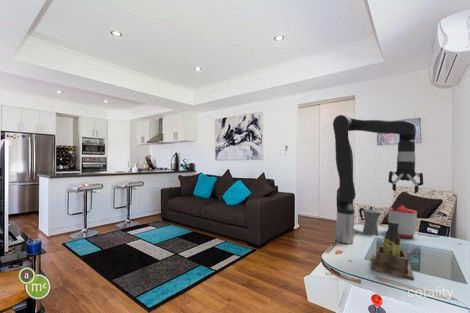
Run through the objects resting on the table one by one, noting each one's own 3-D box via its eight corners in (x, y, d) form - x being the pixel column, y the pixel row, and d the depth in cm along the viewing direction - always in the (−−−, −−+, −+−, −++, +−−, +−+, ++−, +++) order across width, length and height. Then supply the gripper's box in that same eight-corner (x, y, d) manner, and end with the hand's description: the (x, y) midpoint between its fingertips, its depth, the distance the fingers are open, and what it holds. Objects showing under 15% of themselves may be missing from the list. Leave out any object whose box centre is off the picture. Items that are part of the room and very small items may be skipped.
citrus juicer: (404, 231, 160) (405, 202, 160) (422, 240, 143) (423, 208, 143) (381, 230, 162) (382, 201, 162) (396, 238, 144) (396, 207, 144)
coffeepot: (384, 235, 150) (385, 208, 150) (375, 237, 146) (376, 209, 146) (363, 228, 164) (363, 203, 164) (354, 230, 160) (354, 204, 160)
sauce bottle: (379, 261, 109) (380, 219, 109) (392, 261, 109) (393, 219, 109) (390, 268, 102) (391, 223, 102) (403, 268, 102) (404, 223, 102)
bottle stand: (371, 269, 103) (372, 253, 103) (372, 257, 116) (372, 242, 116) (413, 280, 95) (414, 262, 95) (409, 265, 108) (409, 249, 108)
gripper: (388, 160, 120) (387, 191, 120) (423, 161, 110) (422, 194, 110) (390, 160, 125) (389, 190, 125) (424, 161, 116) (423, 193, 116)
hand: (405, 192), depth 118 cm, fingers open, 8 cm apart
